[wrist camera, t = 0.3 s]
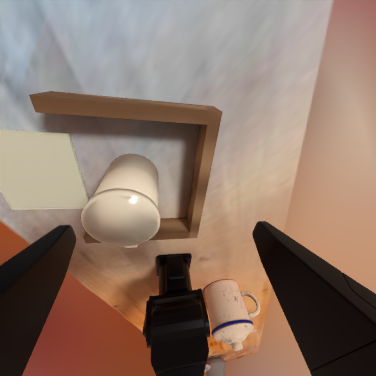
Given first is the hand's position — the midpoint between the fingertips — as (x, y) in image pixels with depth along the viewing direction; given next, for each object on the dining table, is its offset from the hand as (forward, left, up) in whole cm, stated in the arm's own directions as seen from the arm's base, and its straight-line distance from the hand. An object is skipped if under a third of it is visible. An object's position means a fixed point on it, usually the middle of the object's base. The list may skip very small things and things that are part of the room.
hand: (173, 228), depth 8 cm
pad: (-5, +14, -13) cm, 20 cm away
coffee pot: (-114, -27, -13) cm, 118 cm away
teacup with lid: (-37, -16, -13) cm, 42 cm away
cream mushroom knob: (-6, +4, -13) cm, 15 cm away
